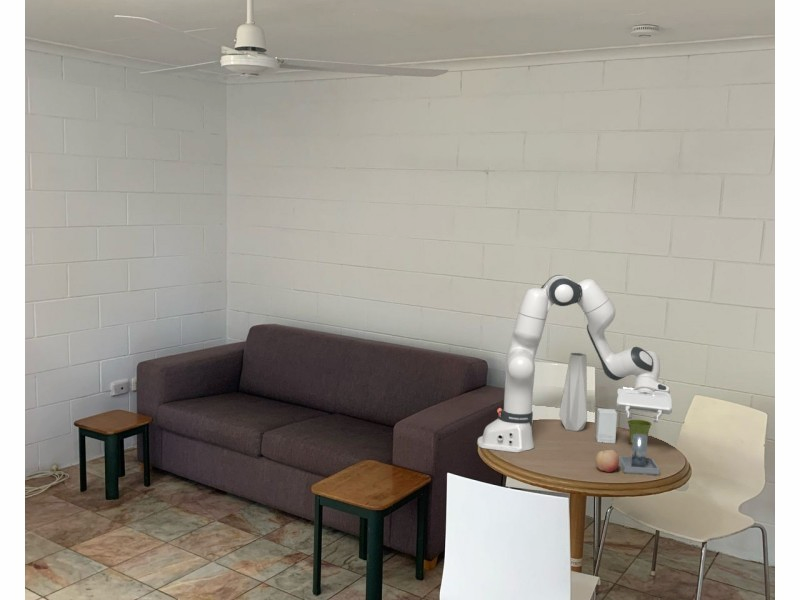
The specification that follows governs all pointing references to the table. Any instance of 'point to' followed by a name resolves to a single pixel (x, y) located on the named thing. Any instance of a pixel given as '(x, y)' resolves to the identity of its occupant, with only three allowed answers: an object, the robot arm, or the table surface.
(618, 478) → the table surface
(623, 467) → the tray
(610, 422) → the supplement box
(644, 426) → the plant pot
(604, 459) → the fruit
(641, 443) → the canister
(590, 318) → the robot arm
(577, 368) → the vase
